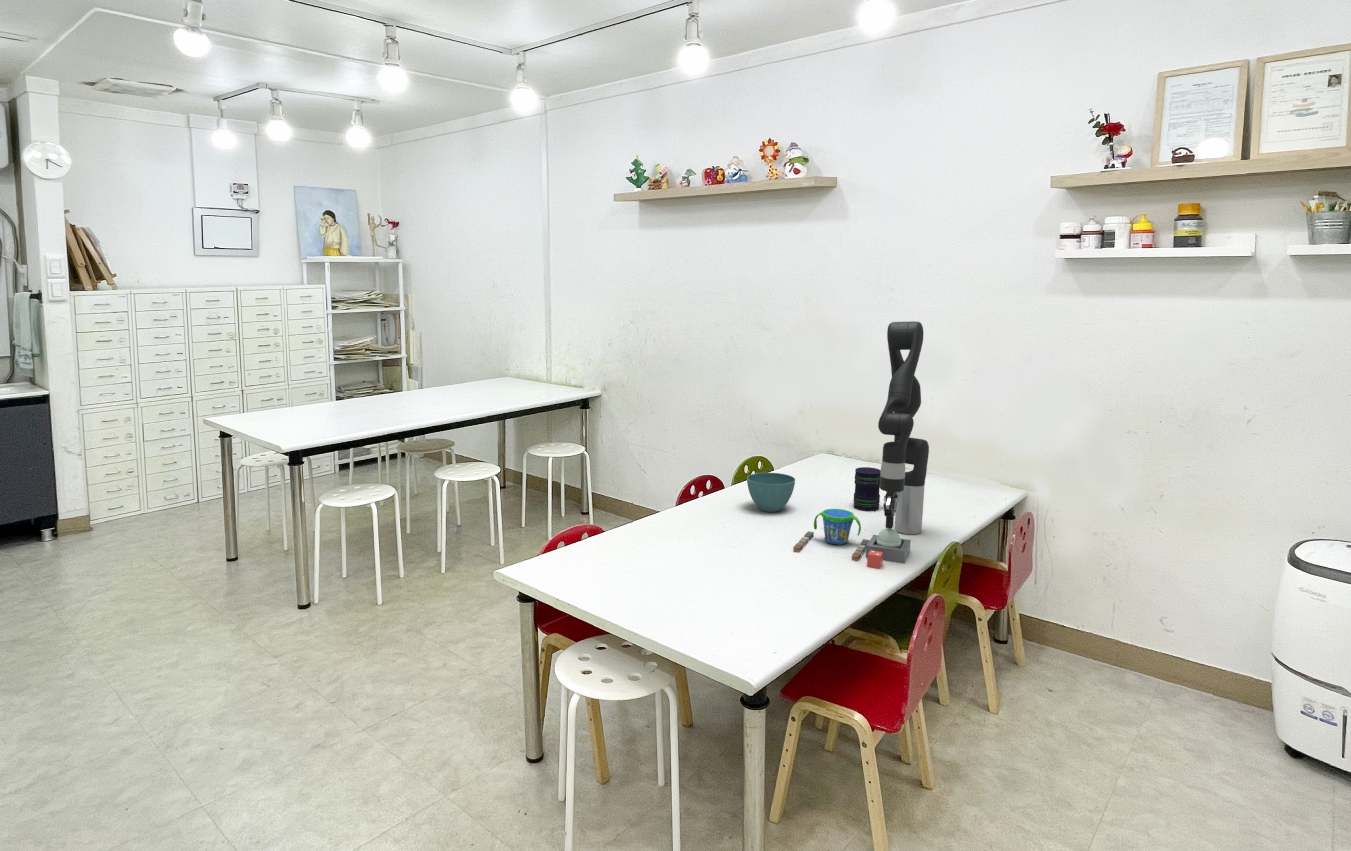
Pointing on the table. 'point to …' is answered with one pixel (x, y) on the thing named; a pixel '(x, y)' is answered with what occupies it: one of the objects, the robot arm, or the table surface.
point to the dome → (889, 538)
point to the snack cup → (837, 525)
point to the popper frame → (890, 550)
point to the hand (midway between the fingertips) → (889, 527)
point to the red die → (874, 559)
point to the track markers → (809, 535)
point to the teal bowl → (770, 490)
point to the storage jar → (867, 489)
